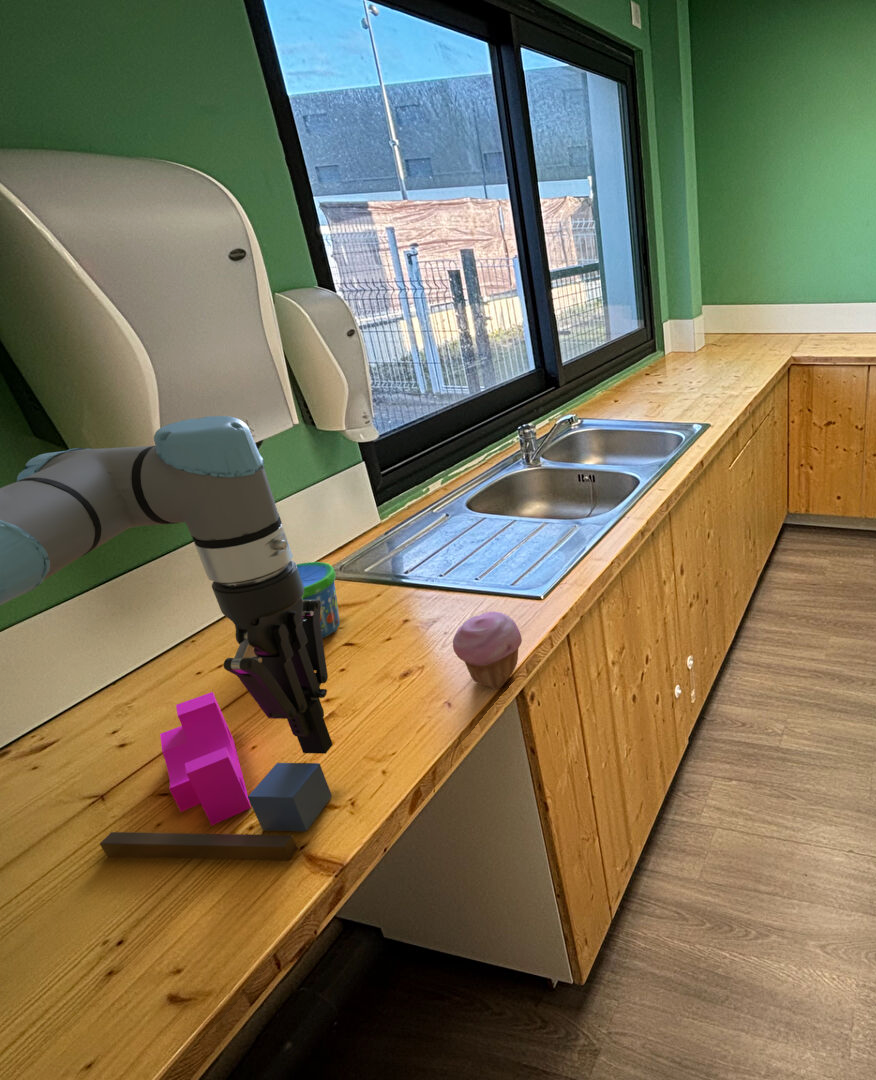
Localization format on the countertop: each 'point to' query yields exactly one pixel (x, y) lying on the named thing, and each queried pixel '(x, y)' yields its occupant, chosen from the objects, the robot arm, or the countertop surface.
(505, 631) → the cupcake
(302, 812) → the cube
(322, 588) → the snack cup
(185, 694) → the countertop surface
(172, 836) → the straightedge
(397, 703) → the countertop surface
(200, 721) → the toy block
